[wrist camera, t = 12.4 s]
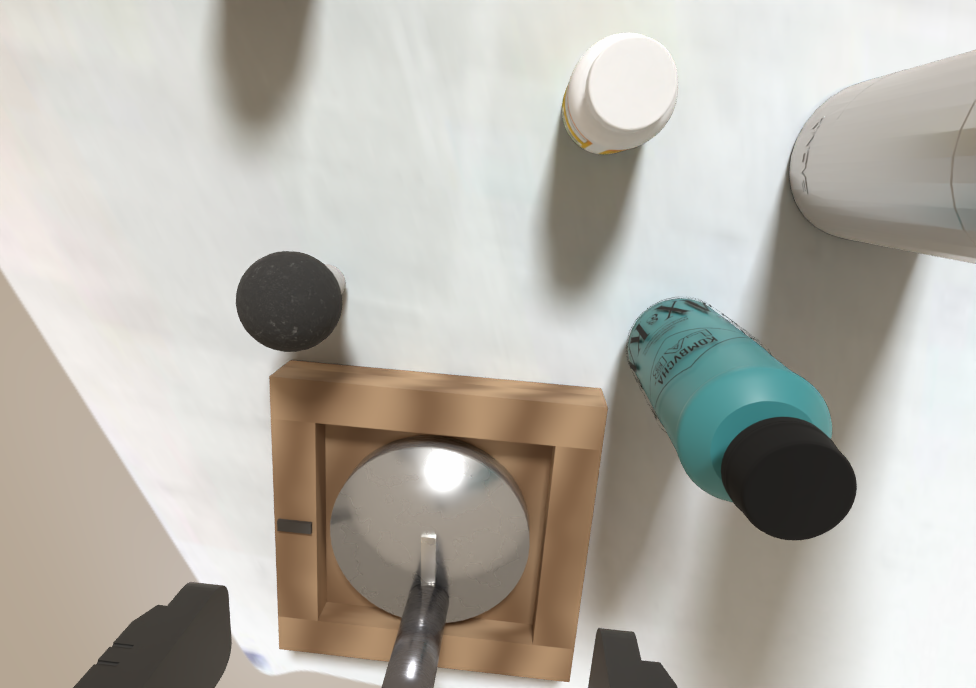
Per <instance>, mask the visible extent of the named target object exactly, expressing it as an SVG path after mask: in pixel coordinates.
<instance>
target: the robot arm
mask: <svg viewBox="0 0 976 688" xmlns="http://www.w3.org/2000/svg"><path fill="white" fill-rule="evenodd" d="M789 175H790V184H791V190H792V193H793V196H794V199H795V202H796V204H797V206H798V207H799V209H800V210H801V212H802V214H803V215H804V217H805V218H807V219H808V220H809V221H810V222H811V223H812V224H813V225H814V226H815V227H817V228H819V229H820V230H822V231H824V232H826V233H827V234H830V235H833V236H837V237H840V238H844V239H849V240H854V241H860V242H865V243H870V244H874V245H879V246H884V247H889V248H894V249H900V250H905V251H910V252H916V253H921V254H926V255H931V256H937V257H942V258H947V259H953V260H958V261H963V262H968V263H974V264H976V50H973V51H970V52H966V53H963V54H959V55H956V56H952V57H949V58H945V59H942V60H938V61H935V62H931V63H928V64H924V65H921V66H917V67H914V68H910V69H906V70H902V71H899V72H895V73H892V74H888V75H885V76H881V77H878V78H874V79H871V80H867V81H864V82H861V83H858V84H856V85H853V86H850V87H847V88H845V89H844V90H842V91H840V92H839V93H837V94H835V95H833V96H832V97H830V98H829V99H828V100H827V101H826V102H825V103H823V104H822V105H821V106H820V107H819V108H818V109H816V111H815V112H814V113H813V114H812V116H811V117H810V118H809V119H808V121H807V122H806V123H805V125H804V127H803V128H802V130H801V132H800V134H799V136H798V138H797V140H796V143H795V146H794V149H793V152H792V155H791V162H790V172H789ZM230 652H231V626H230V611H229V595H228V590H227V588H226V587H225V586H223V585H213V584H204V583H195V582H190V583H187V584H186V585H185V586H184V587H183V588H182V589H181V590H180V591H179V593H178V594H177V595H176V596H175V597H174V599H173V600H172V601H171V602H170V603H169V604H168V606H163V605H157V606H155V607H154V608H152V609H151V610H149V611H148V612H146V613H145V614H143V615H142V616H140V617H139V618H137V619H136V620H134V621H133V622H131V624H130V625H129V626H128V627H127V628H126V629H125V630H124V631H123V632H122V634H121V635H120V636H119V637H118V638H117V639H116V641H114V643H113V646H112V647H109V648H108V649H107V651H106V652H105V653H104V654H103V655H102V656H101V657H100V658H99V659H98V662H97V664H96V665H93V666H92V667H91V668H90V669H89V671H88V672H87V673H86V674H85V675H84V676H83V677H82V678H81V679H80V681H79V682H78V683H77V684H76V685H75V686H74V687H73V688H215V686H216V684H217V683H218V681H219V680H220V678H221V677H222V675H223V673H224V671H225V669H226V666H227V663H228V660H229V656H230ZM588 688H677V685H676V684H675V682H674V681H673V680H672V678H671V677H670V676H669V674H668V673H667V671H666V670H665V669H664V667H663V666H662V665H661V663H659V662H650V661H641V657H640V652H639V648H638V644H637V639H636V636H635V634H634V632H630V631H621V630H611V629H602V628H598V630H597V633H596V639H595V645H594V652H593V658H592V665H591V671H590V678H589V685H588Z"/></svg>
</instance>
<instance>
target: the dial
mask: <svg viewBox="0 0 976 688" xmlns="http://www.w3.org/2000/svg"><path fill="white" fill-rule="evenodd" d="M330 537H331V545H332V548H333V552H334V556H335V558H336V560H337V563H338V565H339V567H340V569H341V570H342V572H343V574H344V575H345V577H346V578H347V580H348V581H349V582H350V583H351V585H352V586H353V587H354V588H355V589H356V590H357V591H358V592H359V593H360V594H361V595H362V596H363V597H365V598H366V599H367V600H368V601H370V602H371V603H373V604H374V605H376V606H377V607H379V608H381V609H383V610H385V611H387V612H389V613H391V614H393V615H396V616H399V617H401V618H402V619H401V622H400V626H399V629H398V633H397V636H396V640H395V643H394V647H393V650H392V653H391V657H390V660H389V664H388V667H387V671H386V674H385V678H384V681H383V685H382V688H433V687H434V682H435V676H436V671H437V666H438V660H439V655H440V650H441V644H442V639H443V634H444V628H445V623H449V622H456V621H461V620H466V619H469V618H472V617H475V616H478V615H480V614H482V613H484V612H486V611H488V610H490V609H491V608H493V607H494V606H496V605H497V604H498V603H500V602H501V601H502V600H503V599H504V598H506V597H507V596H508V594H509V593H510V592H511V591H512V590H513V589H514V587H515V586H516V584H517V583H518V581H519V580H520V578H521V576H522V574H523V572H524V569H525V566H526V563H527V560H528V554H529V514H528V508H527V505H526V502H525V499H524V496H523V494H522V492H521V490H520V488H519V486H518V484H517V483H516V481H515V480H514V478H513V477H512V475H511V474H510V473H509V472H508V471H507V470H506V468H505V467H504V466H503V465H502V464H500V463H499V462H498V461H497V460H496V459H495V458H493V457H492V456H490V455H489V454H488V453H486V452H485V451H483V450H481V449H479V448H477V447H475V446H473V445H471V444H468V443H466V442H463V441H460V440H457V439H453V438H448V437H442V436H414V437H407V438H403V439H399V440H395V441H393V442H390V443H388V444H385V445H383V446H382V447H380V448H378V449H376V450H374V451H373V452H372V453H370V454H369V455H368V456H366V457H365V458H364V459H363V460H362V461H361V462H360V463H359V464H358V465H357V466H356V468H355V469H354V470H353V472H352V473H351V474H350V476H349V478H348V479H347V481H346V483H345V484H344V486H343V488H342V489H341V491H340V493H339V495H338V497H337V499H336V501H335V504H334V507H333V510H332V515H331V521H330Z"/></svg>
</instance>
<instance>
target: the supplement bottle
mask: <svg viewBox="0 0 976 688" xmlns="http://www.w3.org/2000/svg"><path fill="white" fill-rule="evenodd" d="M677 94H678V76H677V69H676V65H675V62H674V60H673V58H672V56H671V54H670V53H669V52H668V50H667V49H666V48H665V47H664V46H663V45H662V44H660V43H659V42H657V41H656V40H654V39H652V38H649V37H647V36H644V35H641V34H637V33H618V34H614V35H611V36H608V37H606V38H603V39H601V40H600V41H598V42H597V43H595V44H594V45H593V46H591V47H590V48H589V49H588V50H587V51H586V52H585V53H584V55H583V56H582V57H581V58H580V60H579V62H578V63H577V65H576V67H575V68H574V70H573V73H572V75H571V78H570V81H569V83H568V86H567V88H566V91H565V94H564V97H563V103H562V116H563V122H564V125H565V128H566V130H567V132H568V134H569V136H570V137H571V138H572V140H573V141H574V142H575V143H576V144H577V145H578V146H580V147H581V148H583V149H584V150H586V151H588V152H591V153H595V154H613V153H618V152H621V151H624V150H628V149H632V148H635V147H638V146H640V145H642V144H644V143H645V142H647V141H649V140H650V139H652V138H653V137H654V136H656V135H657V134H658V133H659V132H660V131H661V130H662V129H663V128H664V126H665V125H666V123H667V122H668V120H669V119H670V117H671V115H672V113H673V110H674V108H675V104H676V100H677Z"/></svg>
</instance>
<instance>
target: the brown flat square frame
mask: <svg viewBox="0 0 976 688" xmlns="http://www.w3.org/2000/svg"><path fill="white" fill-rule="evenodd" d="M269 379H270V406H271V434H272V461H273V488H274V516H275V543H276V570H277V598H278V625H279V649H284V650H293V651H301V652H310V653H319V654H328V655H336V656H345V657H354V658H362V659H371V660H380V661H389V660H390V657H391V653H392V650H393V647H394V643H395V640H396V636H397V633H398V629H399V626H400V622H401V619H402V618H401V617H399V616H396V615H393V614H391V613H389V612H387V611H385V610H383V609H381V608H379V607H377V606H376V605H374V604H373V603H371V602H370V601H368V600H367V599H366V598H365V597H363V596H362V595H361V594H360V593H359V592H358V591H357V590H356V589H355V588H354V587H353V586H352V585H351V583H350V582H349V581H348V580H347V578H346V577H345V575H344V574H343V572H342V570H341V569H340V567H339V565H338V563H337V560H336V558H335V556H334V552H333V548H332V545H331V537H330V521H331V515H332V510H333V507H334V504H335V501H336V499H337V497H338V495H339V493H340V491H341V489H342V488H343V486H344V484H345V483H346V481H347V479H348V478H349V476H350V474H351V473H352V472H353V470H354V469H355V468H356V466H357V465H358V464H359V463H360V462H361V461H362V460H363V459H364V458H365V457H366V456H368V455H369V454H370V453H372V452H373V451H374V450H376V449H378V448H380V447H382V446H383V445H385V444H388V443H390V442H393V441H395V440H399V439H403V438H407V437H414V436H442V437H448V438H453V439H457V440H460V441H463V442H466V443H468V444H471V445H473V446H475V447H477V448H479V449H481V450H483V451H485V452H486V453H488V454H489V455H490V456H492V457H493V458H495V459H496V460H497V461H498V462H499V463H500V464H502V465H503V466H504V467H505V468H506V470H507V471H508V472H509V473H510V474H511V475H512V477H513V478H514V480H515V481H516V483H517V484H518V486H519V488H520V490H521V492H522V494H523V496H524V499H525V502H526V505H527V508H528V514H529V554H528V560H527V563H526V566H525V569H524V572H523V574H522V576H521V578H520V580H519V581H518V583H517V584H516V586H515V587H514V589H513V590H512V591H511V592H510V593H509V594H508V596H507V597H506V598H504V599H503V600H502V601H501V602H500V603H498V604H497V605H496V606H494V607H493V608H491V609H490V610H488V611H486V612H484V613H482V614H480V615H478V616H475V617H472V618H469V619H466V620H461V621H456V622H449V623H445V628H444V634H443V639H442V644H441V650H440V655H439V660H438V666H437V667H441V668H450V669H459V670H467V671H476V672H485V673H494V674H502V675H511V676H520V677H529V678H537V679H546V680H555V681H564V682H569V681H570V674H571V667H572V660H573V653H574V645H575V638H576V631H577V624H578V617H579V610H580V603H581V596H582V588H583V581H584V574H585V567H586V560H587V553H588V546H589V539H590V531H591V524H592V517H593V510H594V503H595V496H596V489H597V482H598V475H599V467H600V460H601V453H602V446H603V439H604V432H605V425H606V418H607V410H608V407H607V404H606V401H605V398H604V395H603V392H602V389H601V388H591V387H580V386H569V385H558V384H547V383H536V382H525V381H514V380H503V379H492V378H481V377H470V376H459V375H448V374H437V373H426V372H415V371H404V370H393V369H382V368H371V367H360V366H349V365H338V364H327V363H316V362H305V361H294V360H290V361H289V362H288V363H286V364H285V365H284V366H282V367H281V368H280V369H278V370H277V371H276V372H275V373H273V374H272V375H271V376H269Z"/></svg>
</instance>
